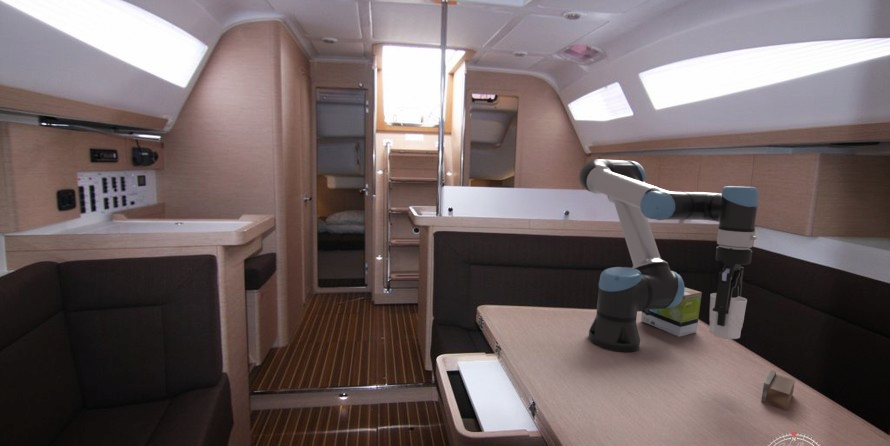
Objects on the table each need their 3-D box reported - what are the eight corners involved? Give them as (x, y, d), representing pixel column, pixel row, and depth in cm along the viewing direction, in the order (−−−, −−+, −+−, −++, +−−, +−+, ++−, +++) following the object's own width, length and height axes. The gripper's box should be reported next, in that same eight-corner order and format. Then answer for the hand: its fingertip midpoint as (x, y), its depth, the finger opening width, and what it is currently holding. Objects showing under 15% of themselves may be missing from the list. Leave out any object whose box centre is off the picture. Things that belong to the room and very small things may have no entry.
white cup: (748, 341, 105) (753, 302, 104) (713, 338, 107) (717, 299, 105) (734, 330, 112) (738, 294, 111) (702, 327, 114) (705, 291, 113)
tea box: (639, 321, 152) (643, 282, 149) (657, 318, 156) (661, 279, 154) (679, 337, 138) (684, 294, 136) (697, 333, 143) (703, 291, 141)
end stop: (761, 401, 101) (764, 382, 100) (768, 387, 108) (771, 369, 107) (786, 410, 98) (789, 391, 97) (792, 395, 105) (795, 377, 104)
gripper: (741, 253, 97) (731, 348, 100) (761, 245, 111) (751, 328, 114) (705, 248, 103) (696, 338, 105) (728, 241, 117) (719, 321, 119)
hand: (724, 333), depth 109 cm, fingers closed on white cup, 7 cm apart
